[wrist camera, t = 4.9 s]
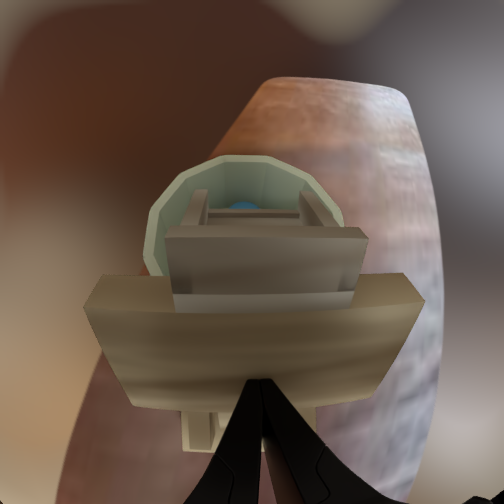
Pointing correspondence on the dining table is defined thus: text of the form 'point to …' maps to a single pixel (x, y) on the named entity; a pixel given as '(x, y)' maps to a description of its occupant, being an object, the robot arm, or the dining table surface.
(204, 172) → the pale green bowl
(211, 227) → the catapult arm
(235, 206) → the ball
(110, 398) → the dining table surface
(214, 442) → the stand
